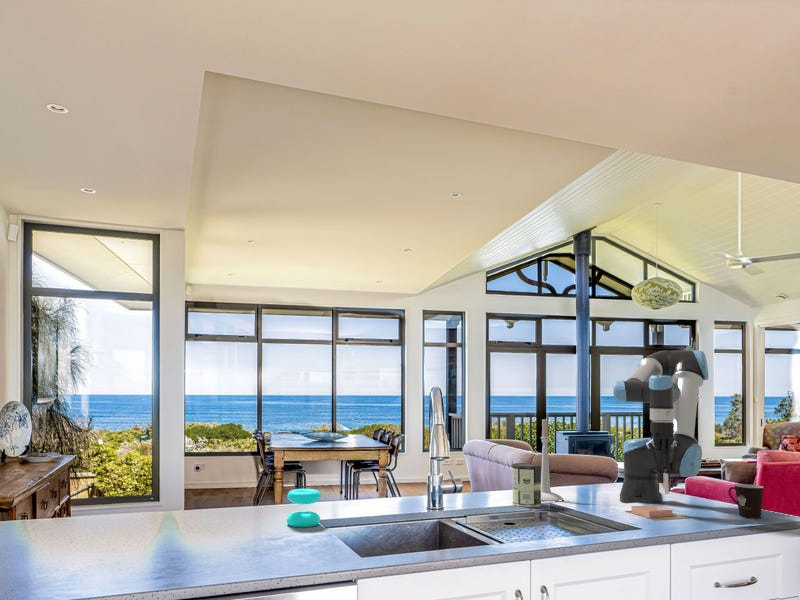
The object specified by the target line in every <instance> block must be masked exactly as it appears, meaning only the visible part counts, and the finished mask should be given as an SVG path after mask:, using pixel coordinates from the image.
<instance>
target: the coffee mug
mask: <svg viewBox="0 0 800 600" xmlns="http://www.w3.org/2000/svg"><path fill="white" fill-rule="evenodd" d="M732 490H734V491H735V496H736V499H735V498H734V497H733V496H732V494H731V491H732ZM728 495H729V497H730V499H732V501H733V502H734V503H735V504H736V505H737V507H738V508H737V510H738V515H740V516H742V517H741V518H743V517H746V518H745V519H750V518H756V519H757V520H758V518H760V519H762V508H763V495H764V486H762V485H759V484H758V485H755V484H747V483H746V484H745V483H742V484H741V483H739V484H734V486H733V487H732V486H731V487H730V488H728ZM740 516H739V517H740ZM756 519H755V520H756Z"/></svg>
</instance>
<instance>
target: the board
mask: <svg viewBox="0 0 800 600" xmlns="http://www.w3.org/2000/svg"><path fill="white" fill-rule="evenodd" d="M623 512H625V513H628V514H631V515H635V516H639V517H641V518H645V519H649V520H652V521H656V522H657V521H670V520H688V519H689V520H691V519H692V518H691V517H688V516H684V515H680V514H676V513H673V512H672V516H667V517H650V518H649V517H646V516H642V515H639V514H636V513H632V510H623Z"/></svg>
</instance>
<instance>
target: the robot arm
mask: <svg viewBox="0 0 800 600" xmlns="http://www.w3.org/2000/svg"><path fill="white" fill-rule="evenodd" d="M708 380H709V368H708V362H707V356H706V354H705V352H704V351H703V350H695V349H691V350H660V351H656V352H654V353H651V354H649V355H647V356H645V357H644V358H643V359H641V360H640V361H639V363H638V365H637V369H636V370H635V371H634V372H632V374H631V375H629V377H628V378H627V379H626V380H616V381H615V382H614V384H613V387H612V390H613V392H612V393H613V398H614V400H615V401H616V402H621V403H647V404H648V403H649V420H650V423H649V424H650V426H649V427H650V429H649V431H650V433H651V436H650V437H644V438H633V439H627V440H625V441H624V442H623V452H622V453H623V482H622V484H621V485H622V487H621V490H620V492H619V501H620V502H621V503H626V504H661V503H663V502H664V500H663V499H664V498H663V495H666V494H667V495H668V494H669V493H670V491H669V483H670V482H671V481H670V477H671V476H673V477H675V476H676V477H682V478H685V477H691V478H693V477H696V476H697V475H698V474H699V472H700V470H701V466H702V463H703V462H702V460H703V457H702V456H703V449H702V446H701V445H700V444H699V442H698V441H697V439H696V437H695V430H696V429H695V428H696V418H697V408H698V407H697V406H698V395H699V389H700V387H702V386H703V385H704V381H708ZM662 494H663V495H662Z"/></svg>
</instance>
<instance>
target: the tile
mask: <svg viewBox="0 0 800 600" xmlns="http://www.w3.org/2000/svg"><path fill="white" fill-rule="evenodd" d="M631 511H632V513H636V514H639V515H642V516H646V517H649V518H650V517H667V516H672V513H673V509H671V508H666V507H663V506H659V505H654V504H649V505H648V504H647V505H631Z"/></svg>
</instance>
